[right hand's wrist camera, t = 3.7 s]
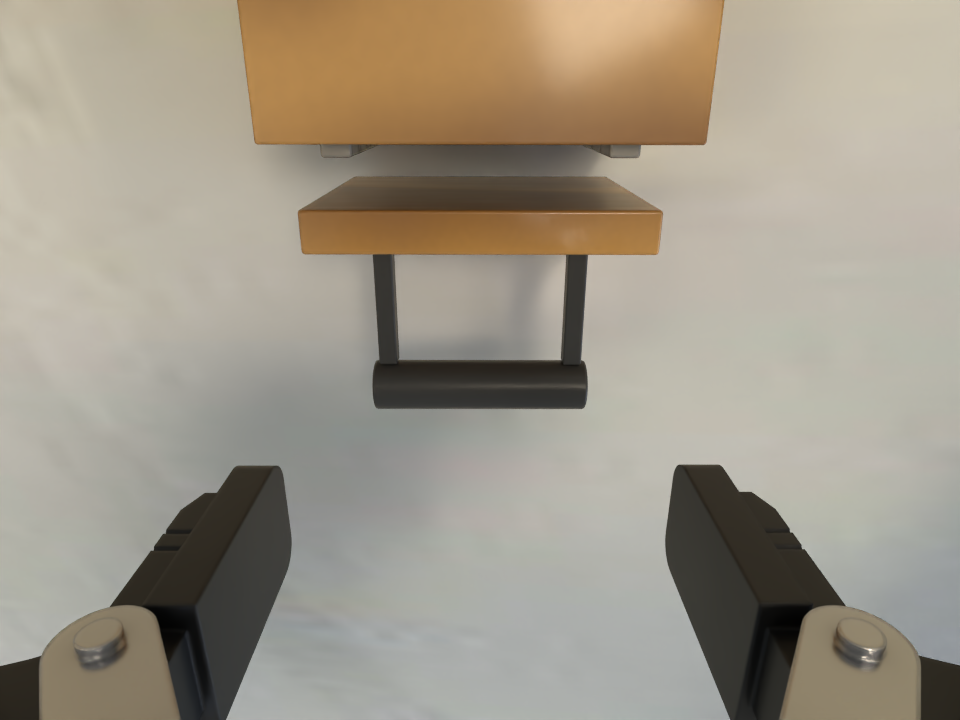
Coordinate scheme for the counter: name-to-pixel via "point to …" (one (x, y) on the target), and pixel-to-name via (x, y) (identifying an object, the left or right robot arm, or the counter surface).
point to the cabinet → (480, 71)
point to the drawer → (480, 231)
